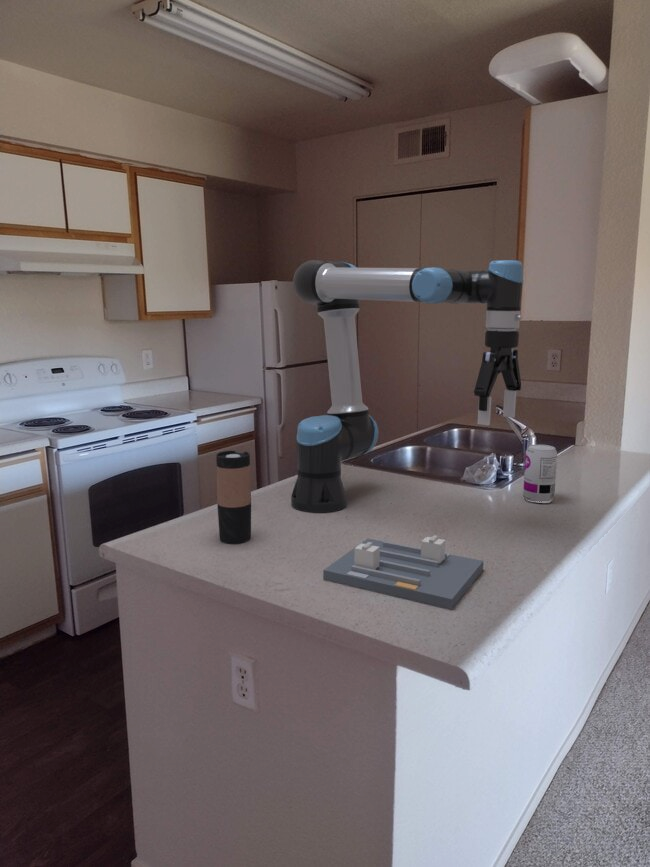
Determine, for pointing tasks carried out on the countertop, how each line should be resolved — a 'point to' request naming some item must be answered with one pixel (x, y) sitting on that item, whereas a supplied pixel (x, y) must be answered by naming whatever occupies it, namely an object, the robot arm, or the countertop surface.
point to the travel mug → (234, 496)
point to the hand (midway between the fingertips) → (496, 420)
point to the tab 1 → (367, 556)
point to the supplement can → (540, 473)
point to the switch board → (408, 574)
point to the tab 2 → (433, 548)
